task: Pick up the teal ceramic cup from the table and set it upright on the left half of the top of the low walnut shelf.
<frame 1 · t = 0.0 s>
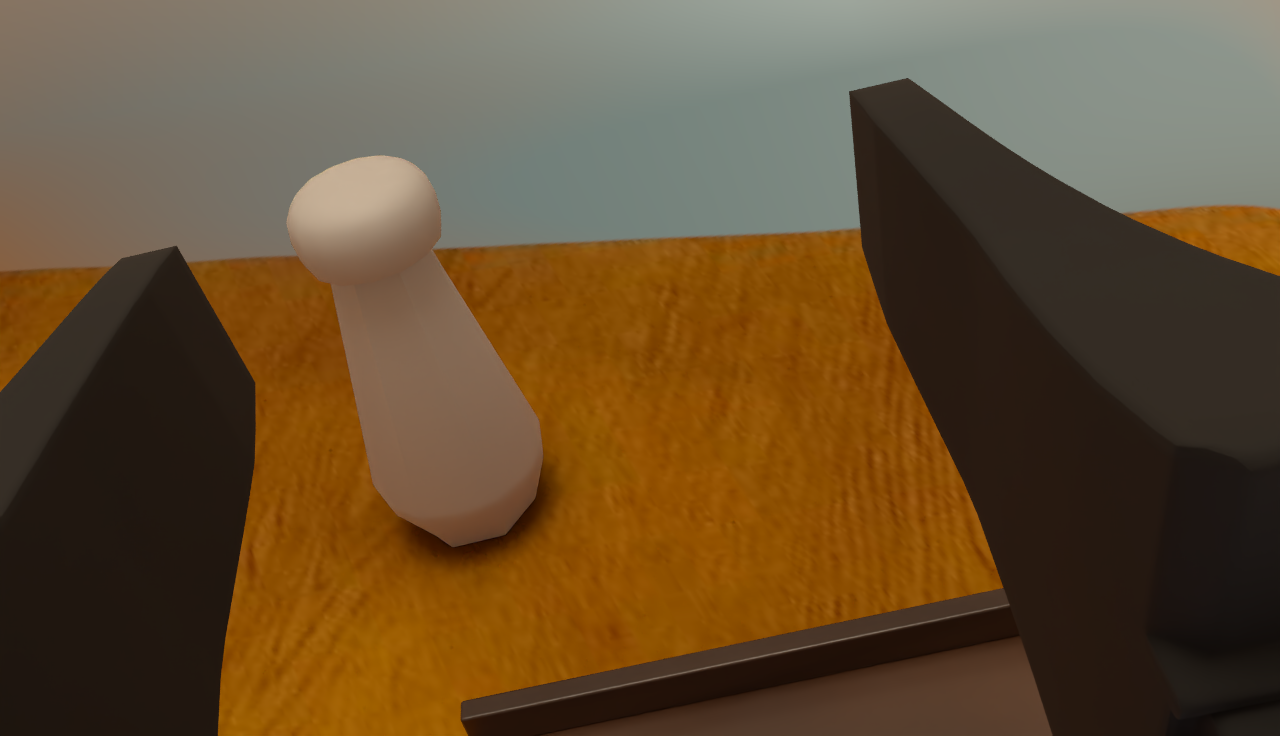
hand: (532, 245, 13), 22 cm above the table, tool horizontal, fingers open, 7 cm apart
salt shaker: (479, 507, 43), on the table
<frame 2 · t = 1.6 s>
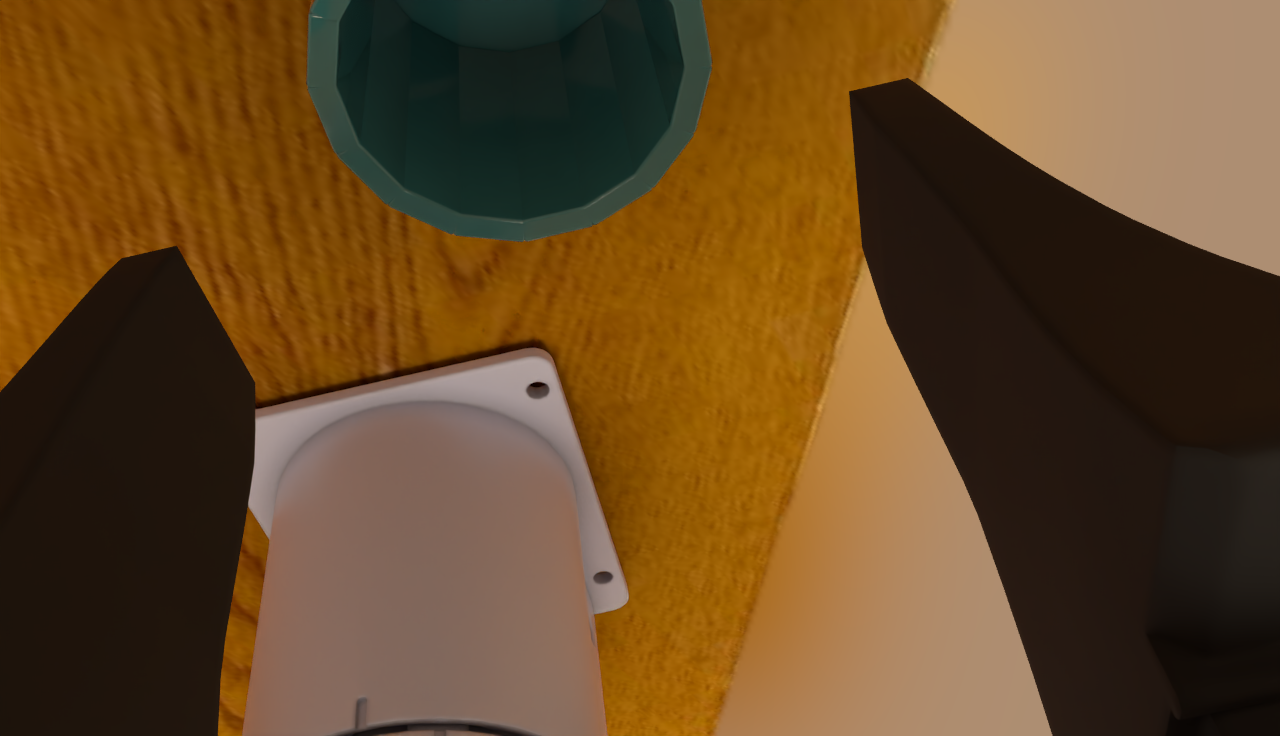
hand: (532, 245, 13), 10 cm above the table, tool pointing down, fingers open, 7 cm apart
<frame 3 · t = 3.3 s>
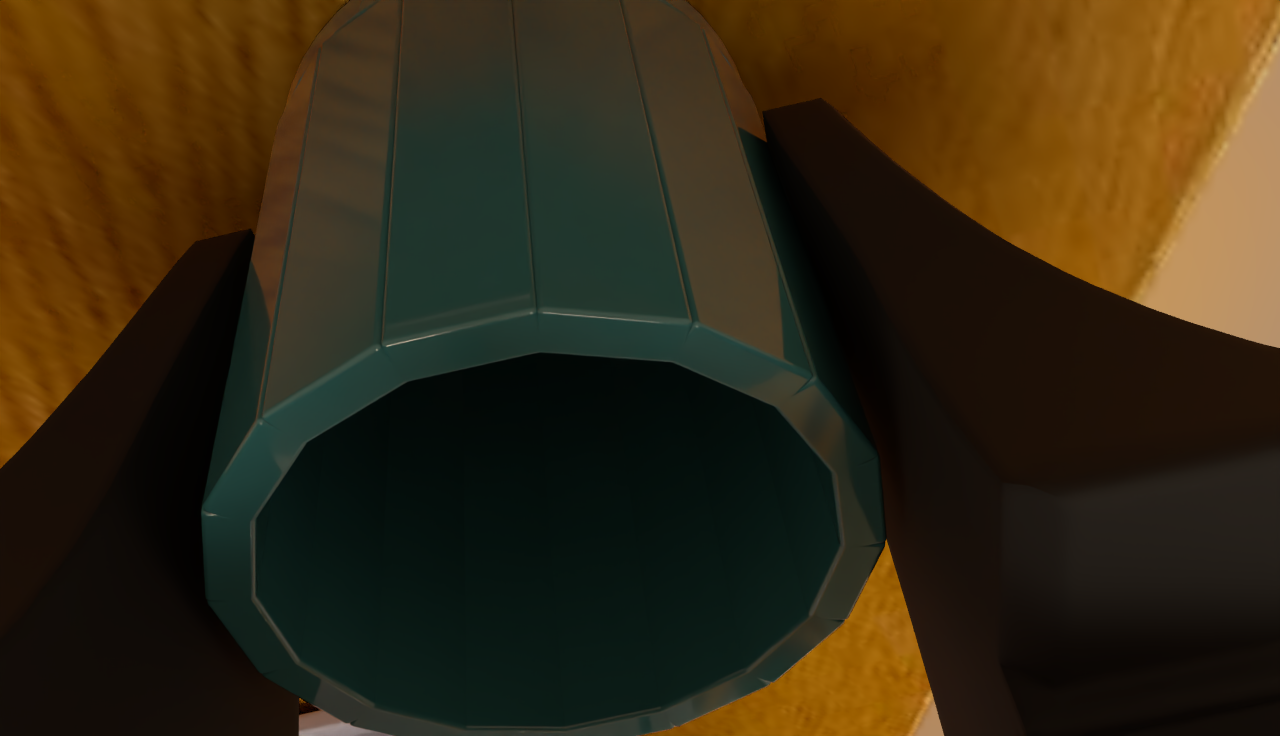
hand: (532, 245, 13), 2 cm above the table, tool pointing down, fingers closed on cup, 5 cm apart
cup: (522, 163, 14), on the table, touching gripper
when the fingers open (5 cm above the table, at t = 7.3 s): cup stays where it is, resting on shelf.
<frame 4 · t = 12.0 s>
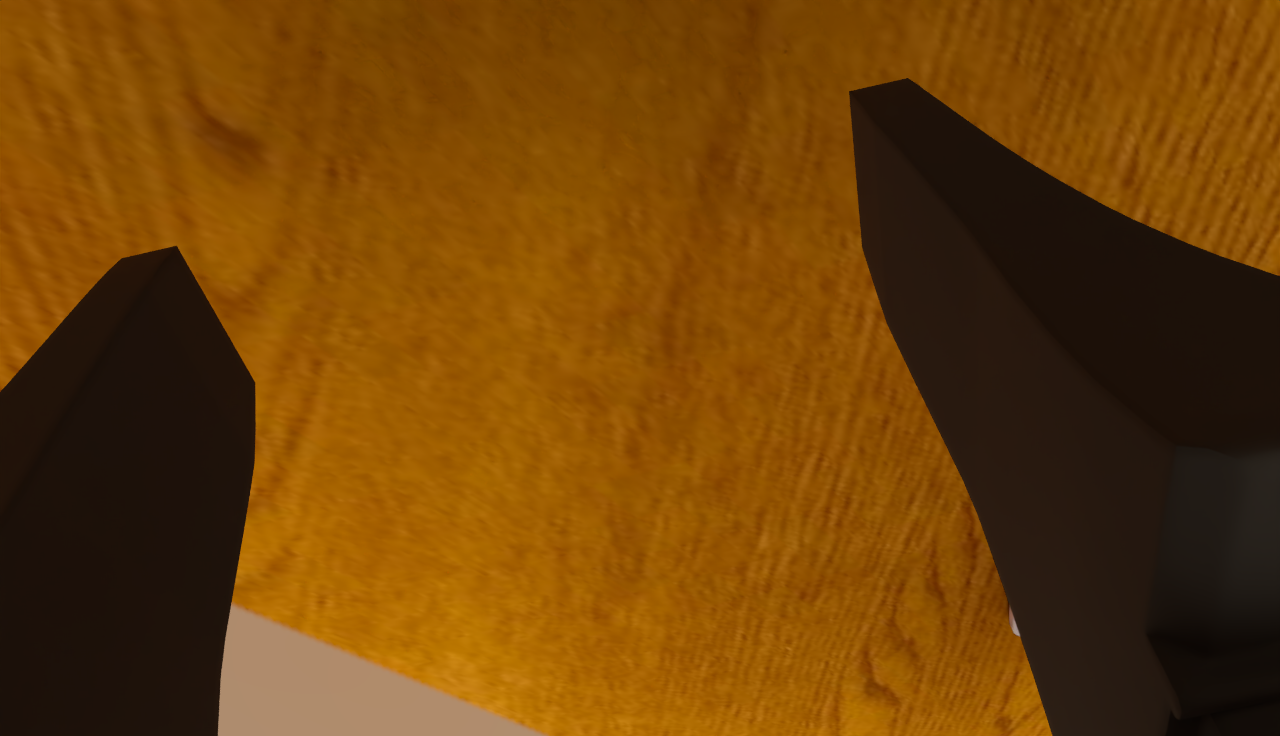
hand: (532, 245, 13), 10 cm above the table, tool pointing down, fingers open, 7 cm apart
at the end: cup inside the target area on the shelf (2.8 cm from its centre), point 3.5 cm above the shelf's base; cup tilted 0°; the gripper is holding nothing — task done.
